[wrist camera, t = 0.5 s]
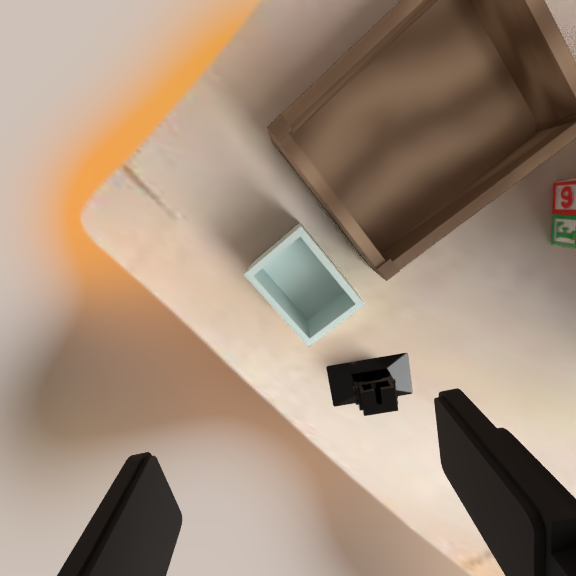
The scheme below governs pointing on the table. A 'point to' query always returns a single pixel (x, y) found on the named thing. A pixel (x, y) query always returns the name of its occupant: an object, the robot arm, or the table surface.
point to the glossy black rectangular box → (371, 383)
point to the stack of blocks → (564, 213)
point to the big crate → (431, 120)
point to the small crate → (303, 285)
